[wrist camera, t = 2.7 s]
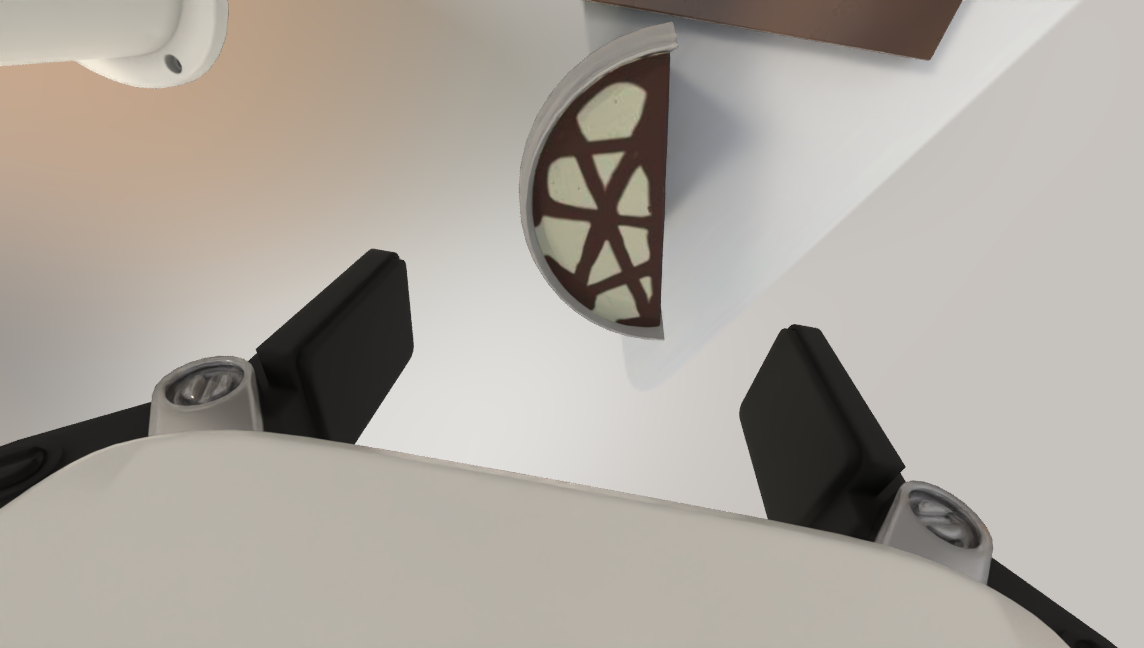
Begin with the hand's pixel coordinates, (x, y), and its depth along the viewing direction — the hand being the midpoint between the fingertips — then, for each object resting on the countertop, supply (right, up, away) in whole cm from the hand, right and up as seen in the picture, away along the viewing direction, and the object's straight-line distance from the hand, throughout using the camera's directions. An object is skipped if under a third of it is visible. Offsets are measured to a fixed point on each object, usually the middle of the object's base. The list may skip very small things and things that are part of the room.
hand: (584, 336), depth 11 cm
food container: (+1, +10, +14) cm, 17 cm away
